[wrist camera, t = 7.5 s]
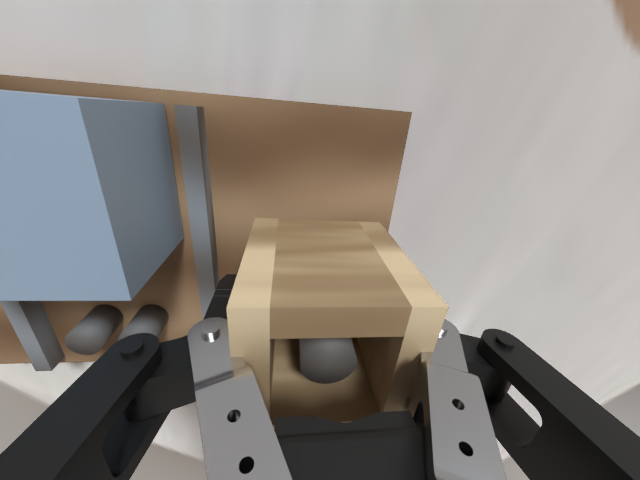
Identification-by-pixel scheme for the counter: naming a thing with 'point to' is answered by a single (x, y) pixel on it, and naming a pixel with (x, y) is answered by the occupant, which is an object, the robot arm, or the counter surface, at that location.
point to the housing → (83, 197)
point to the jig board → (223, 213)
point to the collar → (331, 315)
